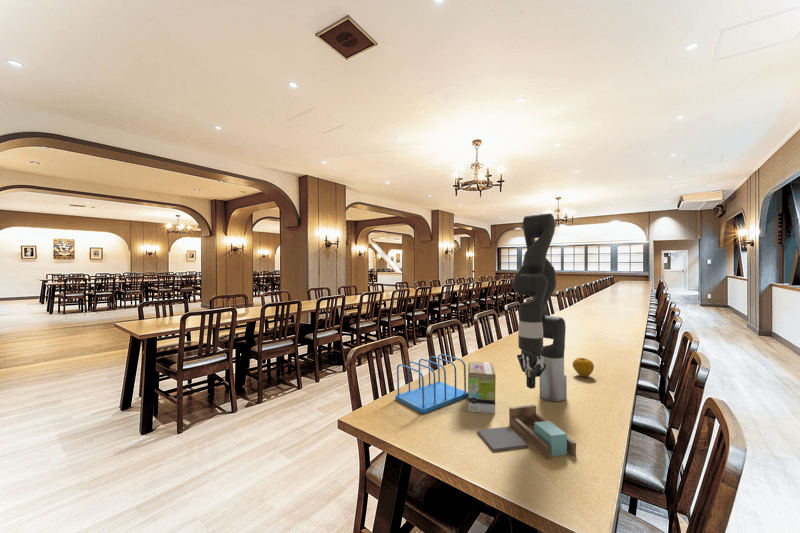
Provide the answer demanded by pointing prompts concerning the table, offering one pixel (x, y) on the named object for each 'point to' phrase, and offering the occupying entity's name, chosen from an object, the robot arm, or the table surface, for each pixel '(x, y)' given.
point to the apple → (583, 366)
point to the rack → (527, 416)
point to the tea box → (481, 387)
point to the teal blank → (552, 437)
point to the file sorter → (431, 389)
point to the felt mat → (501, 439)
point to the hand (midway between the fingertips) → (530, 387)
